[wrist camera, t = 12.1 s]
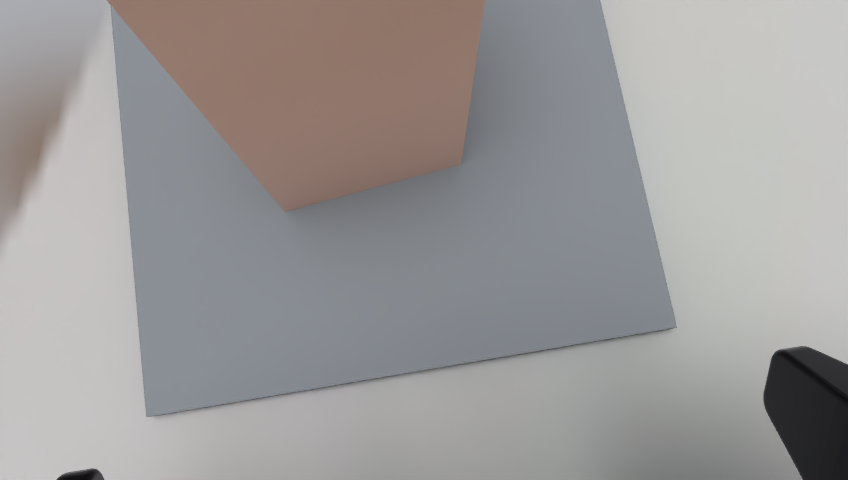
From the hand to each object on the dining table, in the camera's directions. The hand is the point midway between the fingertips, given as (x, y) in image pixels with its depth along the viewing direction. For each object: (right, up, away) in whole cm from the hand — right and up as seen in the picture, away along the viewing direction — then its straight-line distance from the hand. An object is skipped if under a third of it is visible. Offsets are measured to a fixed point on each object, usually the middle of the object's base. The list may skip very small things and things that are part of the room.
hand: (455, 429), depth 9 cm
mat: (-2, +6, +11) cm, 13 cm away
